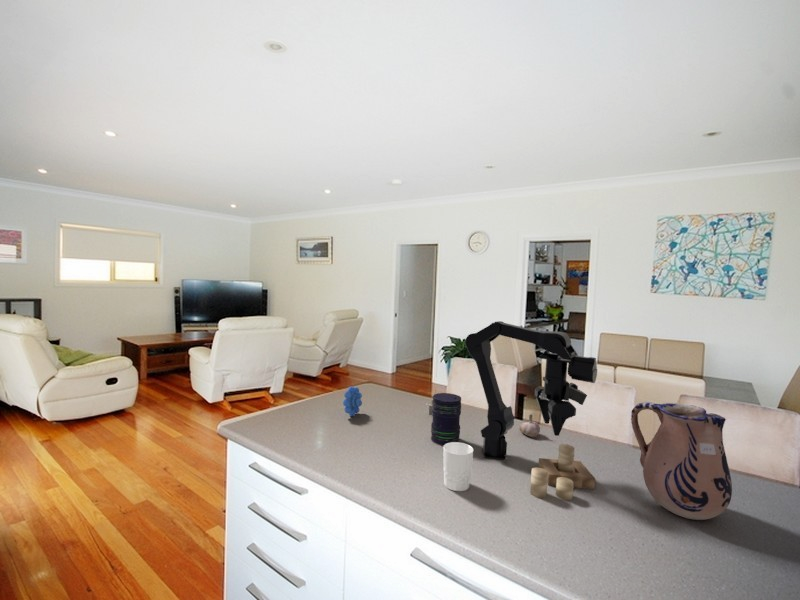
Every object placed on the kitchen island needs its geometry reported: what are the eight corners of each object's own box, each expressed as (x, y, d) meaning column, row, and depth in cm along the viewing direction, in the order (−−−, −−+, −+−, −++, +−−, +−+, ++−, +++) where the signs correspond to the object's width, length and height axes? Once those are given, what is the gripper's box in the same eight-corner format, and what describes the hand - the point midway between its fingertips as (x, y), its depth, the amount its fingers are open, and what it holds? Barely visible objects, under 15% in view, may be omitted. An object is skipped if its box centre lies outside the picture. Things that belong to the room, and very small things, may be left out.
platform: (427, 408, 168) (427, 393, 168) (465, 418, 158) (465, 402, 157) (411, 415, 158) (412, 399, 158) (451, 426, 148) (452, 409, 148)
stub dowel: (558, 499, 99) (559, 484, 99) (553, 491, 103) (554, 476, 103) (574, 501, 98) (575, 485, 98) (569, 492, 102) (570, 477, 102)
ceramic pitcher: (736, 542, 85) (745, 428, 84) (624, 509, 96) (631, 408, 95) (722, 505, 99) (730, 408, 98) (626, 480, 111) (632, 393, 110)
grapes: (352, 422, 147) (354, 390, 146) (338, 418, 150) (339, 388, 149) (369, 413, 157) (370, 384, 157) (355, 410, 160) (356, 381, 160)
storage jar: (426, 442, 131) (428, 398, 130) (435, 432, 140) (437, 391, 140) (455, 448, 127) (458, 403, 127) (462, 437, 136) (464, 395, 136)
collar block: (548, 485, 106) (549, 474, 106) (538, 468, 116) (538, 458, 116) (594, 488, 105) (594, 478, 105) (579, 471, 115) (580, 461, 115)
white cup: (453, 495, 98) (454, 456, 98) (436, 481, 105) (437, 444, 105) (477, 489, 102) (479, 451, 102) (459, 475, 109) (461, 440, 109)
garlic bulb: (537, 440, 137) (538, 418, 137) (516, 435, 141) (517, 413, 141) (541, 433, 144) (542, 412, 143) (521, 429, 147) (522, 408, 147)
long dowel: (559, 480, 108) (561, 449, 108) (555, 474, 112) (557, 443, 112) (574, 482, 108) (576, 450, 108) (569, 475, 112) (571, 444, 112)
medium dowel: (532, 497, 99) (533, 474, 99) (528, 489, 103) (529, 467, 103) (548, 498, 99) (550, 475, 99) (544, 490, 103) (545, 468, 103)
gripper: (598, 386, 102) (593, 445, 103) (572, 370, 121) (568, 420, 121) (554, 383, 103) (550, 441, 104) (535, 368, 121) (532, 417, 122)
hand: (551, 429), depth 113 cm, fingers open, 9 cm apart
